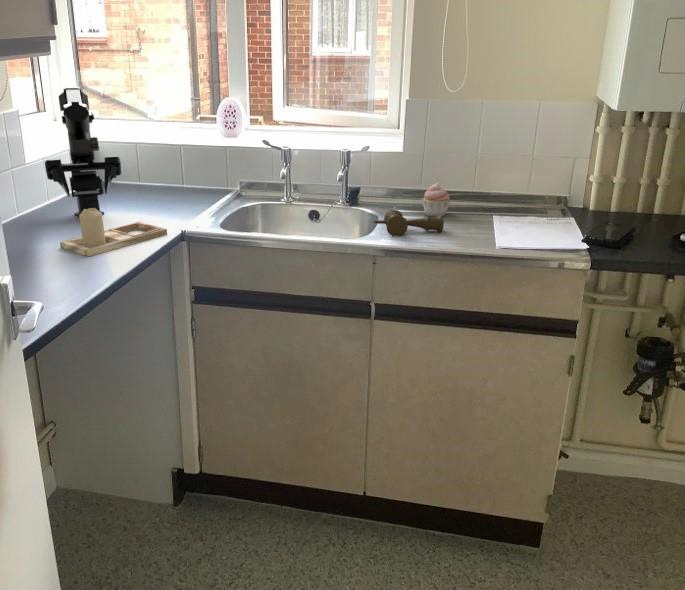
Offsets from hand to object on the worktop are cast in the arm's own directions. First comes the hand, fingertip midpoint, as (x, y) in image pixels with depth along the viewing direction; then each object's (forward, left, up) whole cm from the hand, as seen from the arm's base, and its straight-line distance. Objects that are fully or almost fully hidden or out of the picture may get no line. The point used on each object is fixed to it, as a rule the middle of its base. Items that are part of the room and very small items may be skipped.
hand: (87, 194), depth 176 cm
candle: (+6, -4, -13) cm, 14 cm away
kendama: (+63, +59, -13) cm, 87 cm away
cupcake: (+61, +80, -13) cm, 101 cm away
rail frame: (+6, +3, -12) cm, 14 cm away
